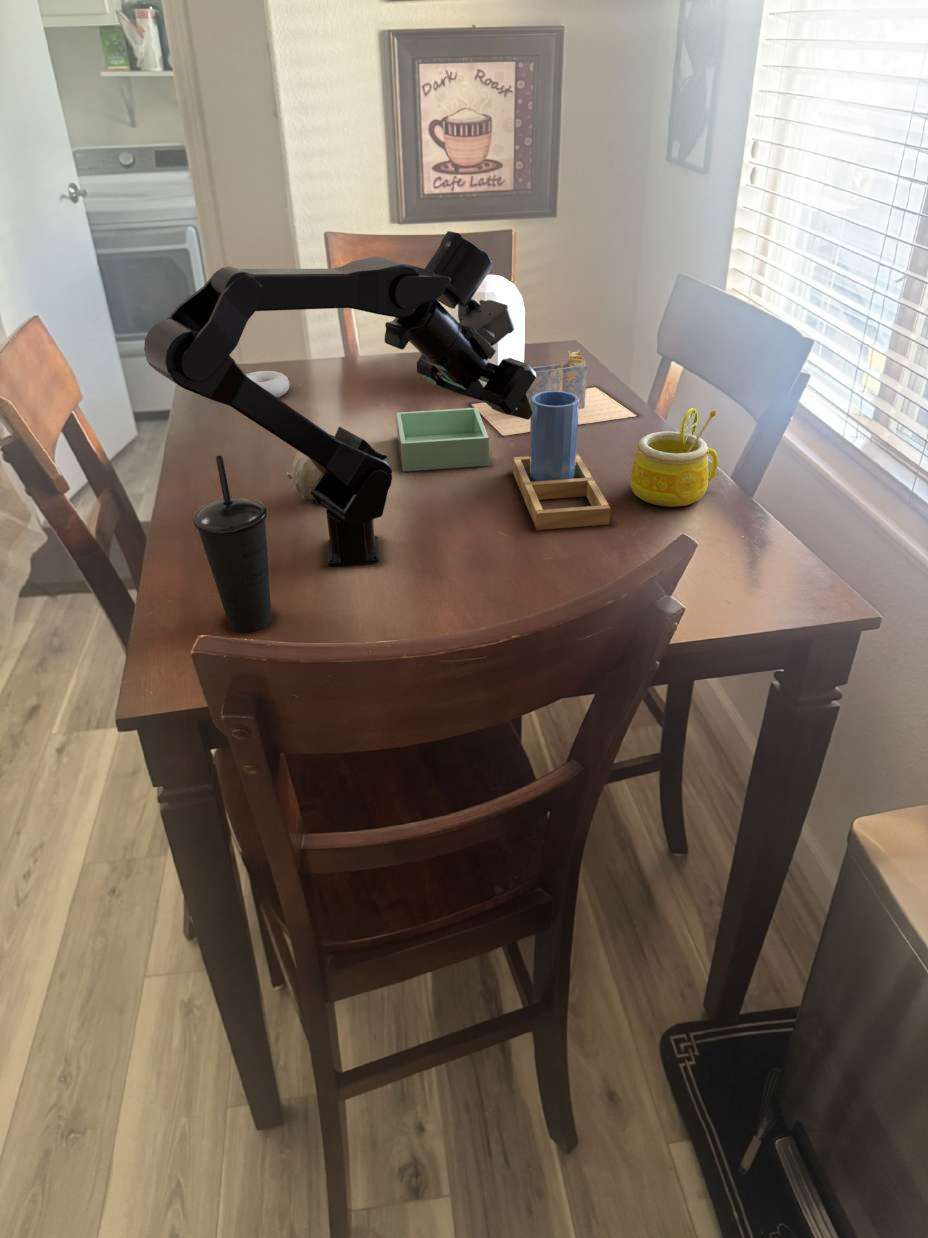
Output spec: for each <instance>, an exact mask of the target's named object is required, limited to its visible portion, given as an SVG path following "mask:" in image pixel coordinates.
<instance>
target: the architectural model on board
mask: <svg viewBox="0 0 928 1238" xmlns="http://www.w3.org/2000/svg"><path fill="white" fill-rule="evenodd" d="M567 361H568V362H567V363H566V362H565V363H558V364H557V363H556V364H551V365H550V364H549V365H542V366H534V367H532V369H533V370H534V371H535V372H536V379H535V380H534V382H533V383H532V385H531V386H530V388H529V389H528V391H527V392H526V394H527V397H528V400H529V403H530V406H531V398H532V396H533V395H535V394H537V393H540V392H545V391H564V392H569V393H572V394H574V395H576V396H578V398H579V412H578V426H579V425H584V424H592V423H593V424H594V423H599V422H605V421H613V420H620V419H627V418H632V417H637V414H635V413H634V412H633V411H631V410H629V409H628V408H626V407H625V406H623V405H622V404H620V403H619V402H618V401H616V400H615V399H613V398H612V397H611V396H609V395H607V394H606V393H605V392H603V390H601V389H599V388H598V387H597V386H594V387H588V388H586V386H587V373H588V365H587V364H586V360H585V358H584V357H583V355H582V353H581V351H580V349H577V351H573V352H571V350H568V360H567ZM471 406H472V408H477V409H478V411H479V414H480V415H481V416H482V417H483V418H484V419H485V420H487V422H488V423H489V424H490V425H491V426H493V427H494V429H495V430H497V432H498V433H500V434H501V435H502V436H503V437H504V436H512V435H516V434H517V435H518V434H524V433H530V422H531V417H530V419H529V420H527V419H523V418H520V417H516V416H512V415H507V414H503V413H501V412H498V411H496V410H494V409H492V407H491V406H489V405H488V404H487V403H485V402H484V401H483V402H478V403H471Z"/></svg>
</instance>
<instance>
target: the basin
mask: <svg viewBox="0 0 928 1238" xmlns="http://www.w3.org/2000/svg"><path fill="white" fill-rule="evenodd" d="M395 418H396V430H397V431H396V432H397V443H398V449H399V455H400V456H399V457H400V463H401V468H402V472H419V471H430V470H433V471H434V470H445V469H446V470H448V469H461V468H462V469H463V468H475V467H489V466H490V437H489V434H488V432H487V430H486V429H487V428H486V427H485V424H484V422H483V419H482V417H481V413H480V412H479V411H478V409H477V408H474V407H467V408H450V409H449V408H447V409H434V410H420V411H419V410H417V411H416V410H415V411H402V412H395Z"/></svg>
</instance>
